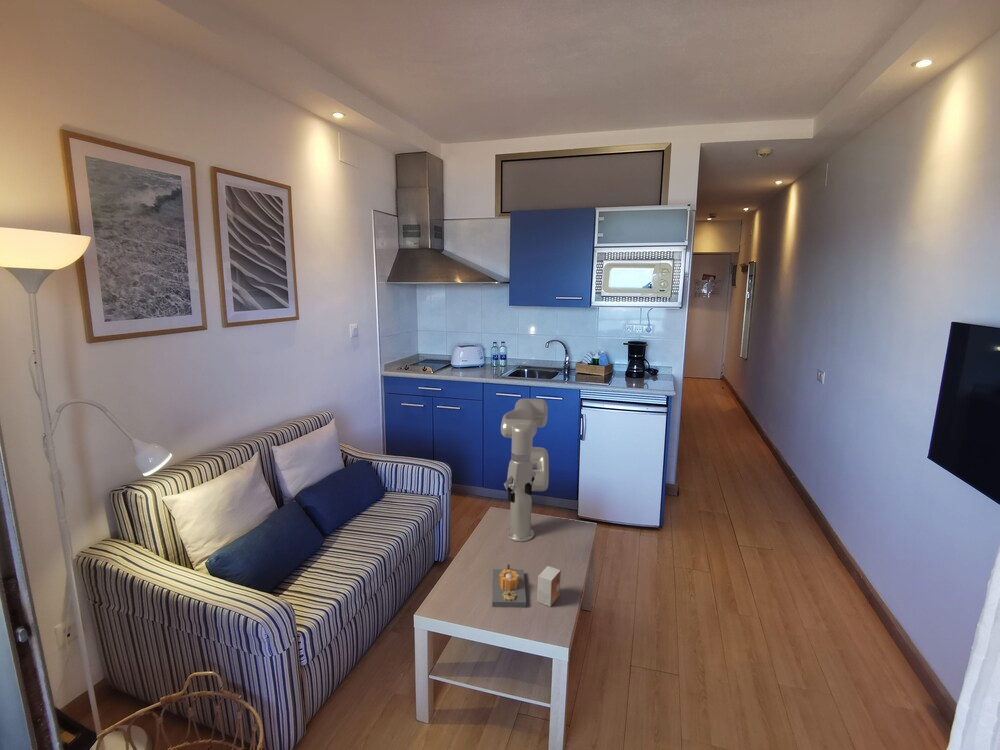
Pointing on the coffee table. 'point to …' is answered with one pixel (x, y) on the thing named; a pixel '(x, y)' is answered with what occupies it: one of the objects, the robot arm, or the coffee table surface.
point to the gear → (509, 580)
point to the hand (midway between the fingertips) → (519, 497)
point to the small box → (548, 586)
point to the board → (508, 591)
